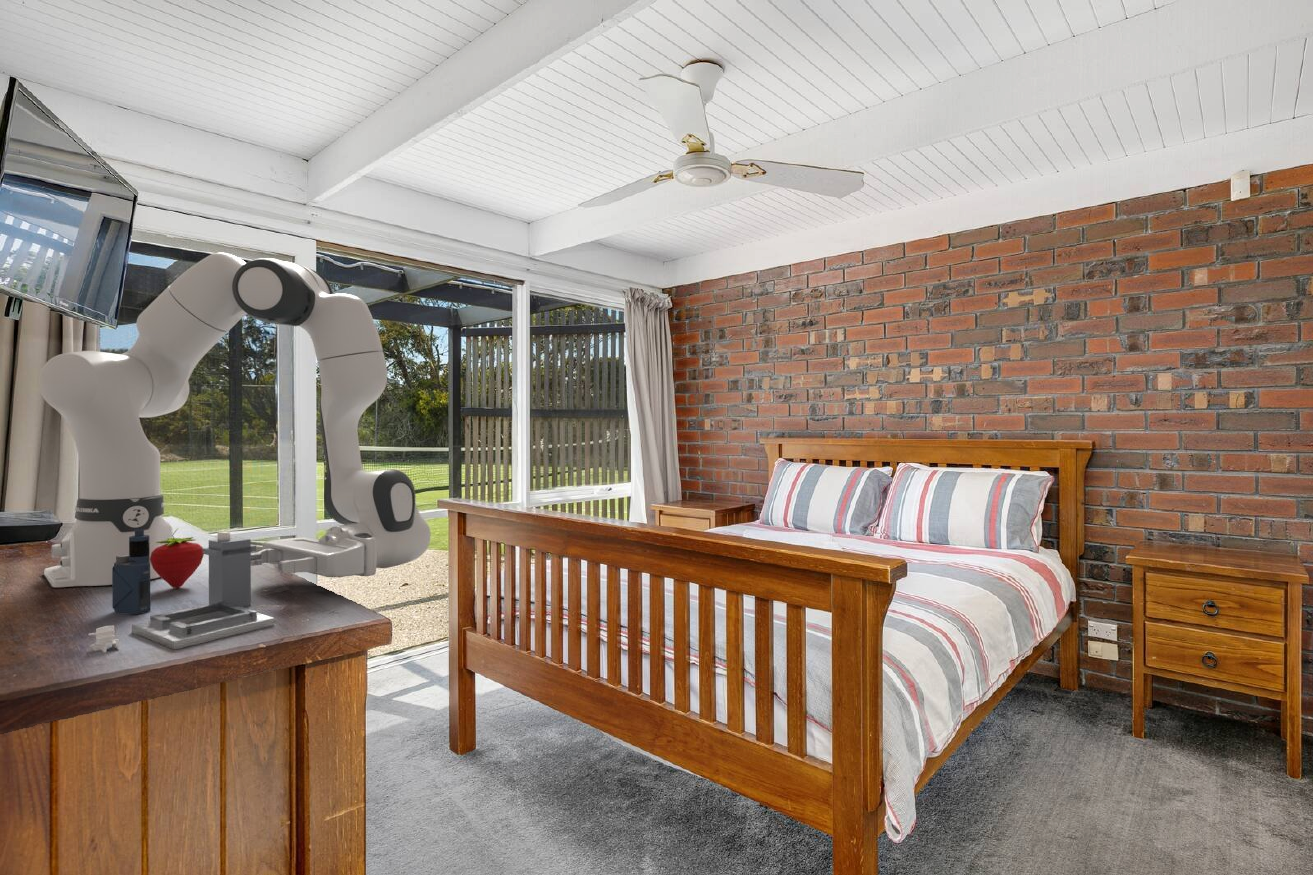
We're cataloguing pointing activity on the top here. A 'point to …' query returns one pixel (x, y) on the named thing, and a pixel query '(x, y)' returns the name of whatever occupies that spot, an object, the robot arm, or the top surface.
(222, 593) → the block
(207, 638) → the plate
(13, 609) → the top surface
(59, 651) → the top surface
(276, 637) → the top surface
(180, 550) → the strawberry
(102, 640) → the power adapter
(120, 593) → the vaping device
